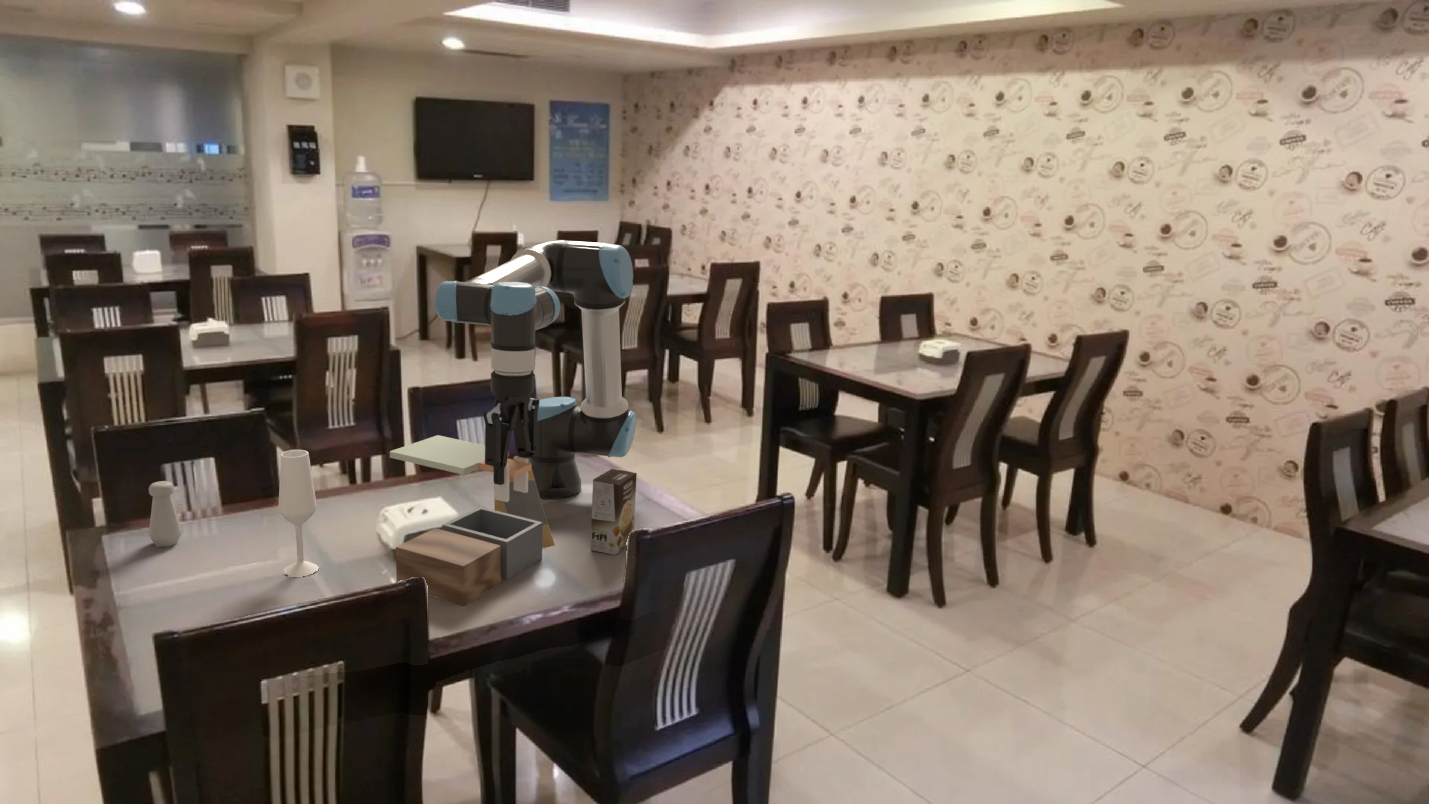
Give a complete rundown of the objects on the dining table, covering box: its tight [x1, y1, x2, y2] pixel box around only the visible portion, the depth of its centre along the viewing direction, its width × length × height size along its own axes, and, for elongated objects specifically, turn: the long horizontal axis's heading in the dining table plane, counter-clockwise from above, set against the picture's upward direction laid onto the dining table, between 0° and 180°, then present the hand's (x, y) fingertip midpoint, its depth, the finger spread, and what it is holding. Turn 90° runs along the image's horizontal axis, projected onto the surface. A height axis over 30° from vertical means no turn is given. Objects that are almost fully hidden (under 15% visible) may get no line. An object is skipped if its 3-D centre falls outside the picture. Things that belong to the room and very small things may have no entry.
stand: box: [395, 527, 502, 607], centre depth 176 cm, size 11×16×8 cm
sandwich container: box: [493, 461, 556, 549], centre depth 200 cm, size 9×15×15 cm, turn 34°
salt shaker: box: [148, 480, 183, 548], centre depth 185 cm, size 6×6×13 cm
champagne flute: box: [278, 449, 320, 578], centre depth 176 cm, size 7×7×24 cm
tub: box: [441, 506, 543, 580], centre depth 188 cm, size 12×16×8 cm
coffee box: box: [589, 468, 638, 556], centre depth 198 cm, size 9×6×16 cm
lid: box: [389, 434, 531, 477], centre depth 169 cm, size 13×25×1 cm, turn 66°
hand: (511, 495), depth 167 cm, fingers closed on lid, 5 cm apart
